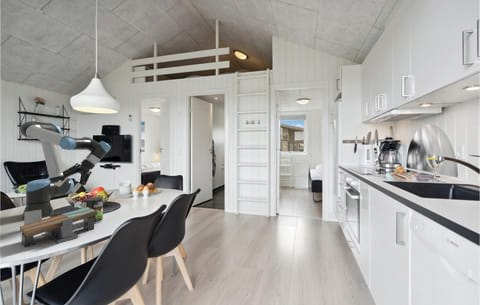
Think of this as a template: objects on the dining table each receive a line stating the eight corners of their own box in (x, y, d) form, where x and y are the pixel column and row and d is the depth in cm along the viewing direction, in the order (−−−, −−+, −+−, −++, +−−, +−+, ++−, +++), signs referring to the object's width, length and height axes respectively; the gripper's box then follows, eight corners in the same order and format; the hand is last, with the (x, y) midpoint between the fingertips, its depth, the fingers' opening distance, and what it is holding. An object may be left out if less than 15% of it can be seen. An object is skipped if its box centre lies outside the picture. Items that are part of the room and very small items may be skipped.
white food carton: (41, 228, 122) (41, 210, 122) (24, 231, 117) (24, 212, 117) (40, 226, 125) (40, 209, 124) (24, 229, 120) (24, 211, 119)
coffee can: (106, 219, 138) (107, 197, 138) (92, 224, 128) (93, 201, 128) (93, 218, 140) (93, 196, 140) (78, 223, 130) (78, 199, 130)
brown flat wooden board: (20, 230, 105) (19, 226, 105) (86, 209, 127) (86, 206, 127) (27, 238, 96) (26, 233, 96) (97, 214, 119) (97, 210, 118)
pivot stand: (18, 239, 106) (18, 219, 106) (84, 224, 129) (85, 207, 129) (28, 251, 95) (28, 228, 94) (99, 232, 117) (99, 213, 117)
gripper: (83, 156, 133) (55, 185, 125) (104, 171, 156) (82, 197, 147) (74, 150, 135) (45, 179, 126) (96, 166, 157) (73, 192, 148)
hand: (65, 189), depth 136 cm, fingers open, 13 cm apart
